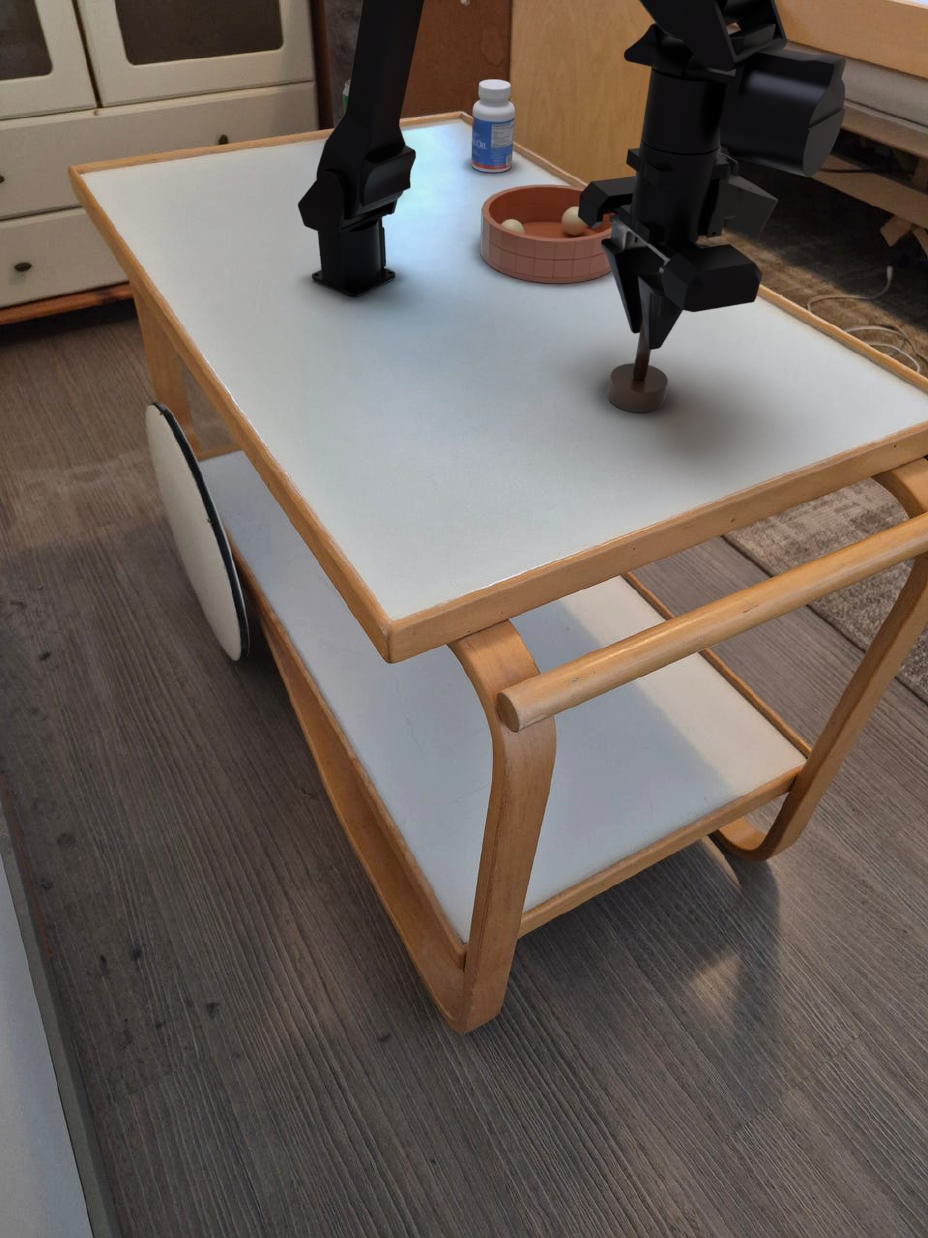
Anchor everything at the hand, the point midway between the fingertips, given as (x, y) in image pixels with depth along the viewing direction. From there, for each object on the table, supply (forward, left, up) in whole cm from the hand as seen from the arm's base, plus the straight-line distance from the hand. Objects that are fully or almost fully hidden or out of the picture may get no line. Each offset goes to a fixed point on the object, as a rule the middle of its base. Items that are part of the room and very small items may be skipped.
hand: (645, 340), depth 76 cm
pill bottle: (+36, +45, -6) cm, 58 cm away
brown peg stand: (0, 0, -6) cm, 6 cm away
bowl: (+20, +23, -6) cm, 31 cm away
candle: (+30, +63, -6) cm, 70 cm away
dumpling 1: (+16, +27, -3) cm, 31 cm away
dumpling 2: (+24, +23, -3) cm, 34 cm away
